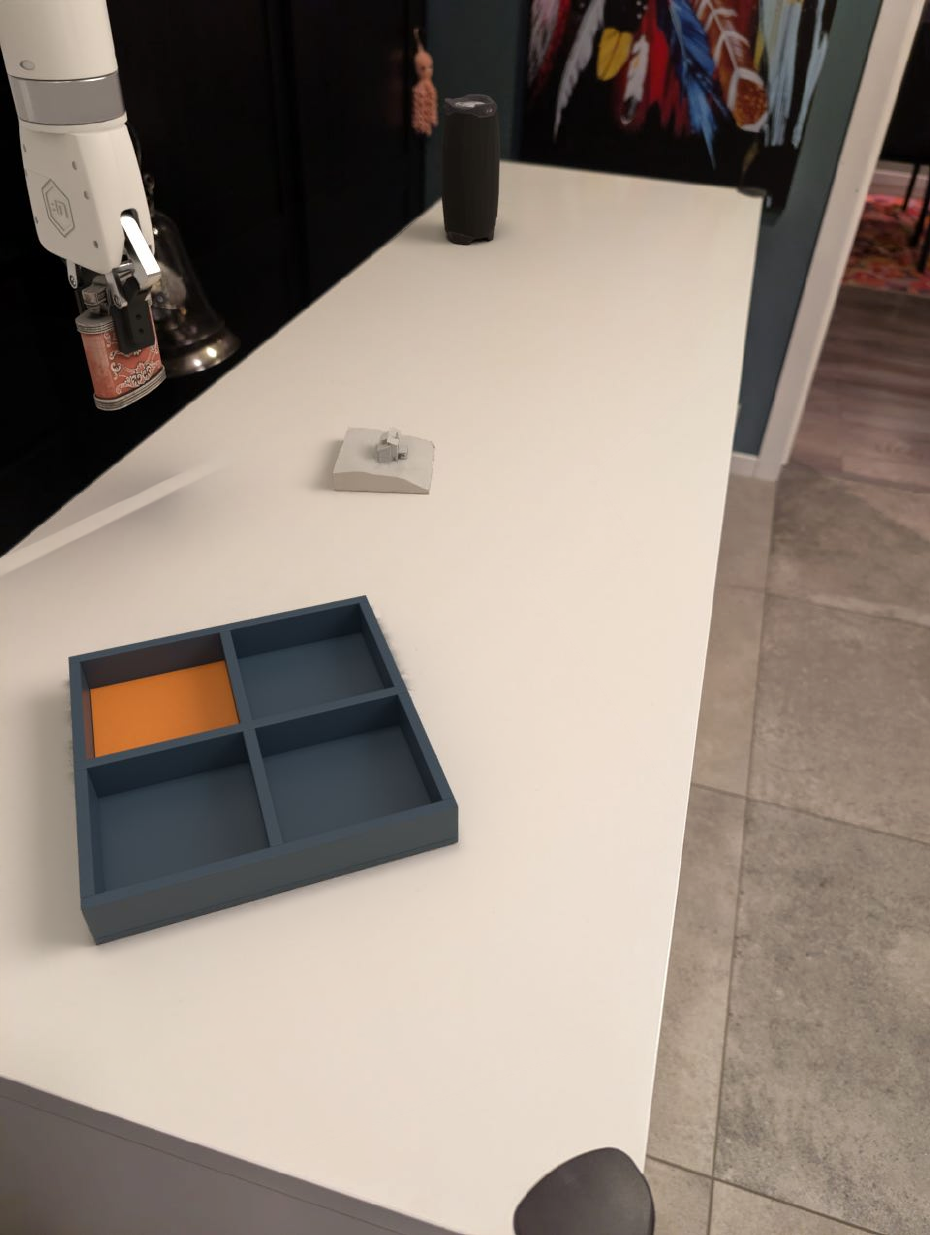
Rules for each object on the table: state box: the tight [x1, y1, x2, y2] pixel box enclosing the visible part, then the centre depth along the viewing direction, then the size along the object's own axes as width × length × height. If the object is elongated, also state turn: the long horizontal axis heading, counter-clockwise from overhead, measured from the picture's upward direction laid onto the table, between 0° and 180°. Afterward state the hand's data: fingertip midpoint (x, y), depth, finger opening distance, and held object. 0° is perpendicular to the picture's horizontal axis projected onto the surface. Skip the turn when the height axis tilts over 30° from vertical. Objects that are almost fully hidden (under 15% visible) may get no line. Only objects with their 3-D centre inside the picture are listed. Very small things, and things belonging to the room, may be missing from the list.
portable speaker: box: [440, 93, 501, 246], centre depth 145 cm, size 9×9×20 cm
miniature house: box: [331, 426, 436, 495], centre depth 96 cm, size 12×11×4 cm
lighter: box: [74, 271, 167, 411], centre depth 81 cm, size 8×3×10 cm, turn 159°
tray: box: [67, 594, 459, 946], centre depth 66 cm, size 22×22×4 cm
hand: (120, 338), depth 81 cm, fingers closed on lighter, 4 cm apart
